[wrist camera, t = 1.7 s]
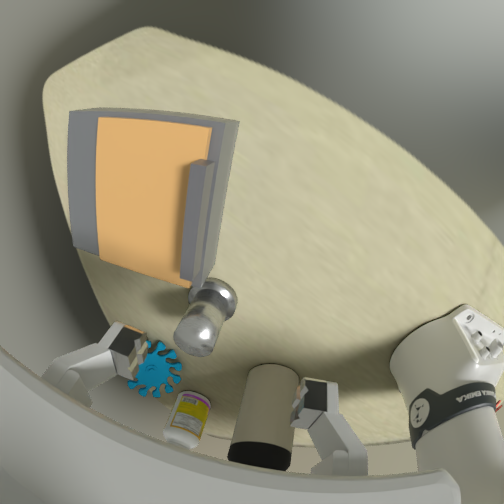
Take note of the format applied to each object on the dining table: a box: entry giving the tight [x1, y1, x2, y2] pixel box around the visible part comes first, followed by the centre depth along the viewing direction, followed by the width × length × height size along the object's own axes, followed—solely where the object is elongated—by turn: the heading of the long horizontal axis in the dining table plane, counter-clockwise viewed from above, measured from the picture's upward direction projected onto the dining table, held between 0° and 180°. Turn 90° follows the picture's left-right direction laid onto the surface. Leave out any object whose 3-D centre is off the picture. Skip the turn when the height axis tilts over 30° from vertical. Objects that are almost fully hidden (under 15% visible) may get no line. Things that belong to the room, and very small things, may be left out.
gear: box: [128, 340, 182, 397], centre depth 41 cm, size 11×6×10 cm
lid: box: [96, 117, 215, 288], centre depth 23 cm, size 12×15×3 cm
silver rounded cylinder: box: [173, 278, 237, 357], centre depth 31 cm, size 6×6×8 cm
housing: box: [67, 108, 240, 289], centre depth 27 cm, size 17×16×5 cm
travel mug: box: [227, 364, 299, 471], centre depth 33 cm, size 8×8×18 cm
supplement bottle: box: [163, 391, 211, 450], centre depth 42 cm, size 7×7×13 cm
